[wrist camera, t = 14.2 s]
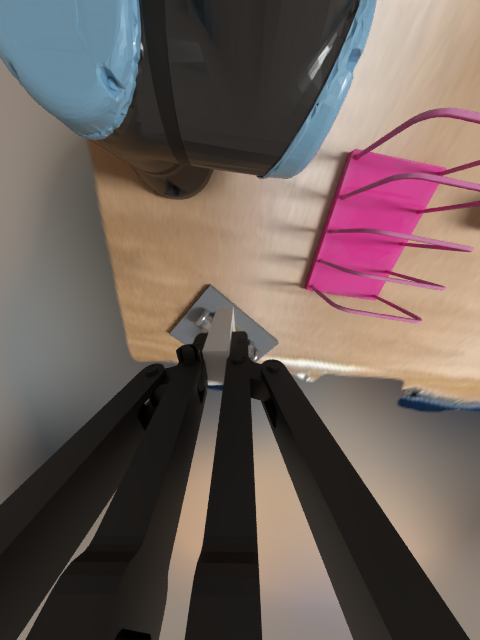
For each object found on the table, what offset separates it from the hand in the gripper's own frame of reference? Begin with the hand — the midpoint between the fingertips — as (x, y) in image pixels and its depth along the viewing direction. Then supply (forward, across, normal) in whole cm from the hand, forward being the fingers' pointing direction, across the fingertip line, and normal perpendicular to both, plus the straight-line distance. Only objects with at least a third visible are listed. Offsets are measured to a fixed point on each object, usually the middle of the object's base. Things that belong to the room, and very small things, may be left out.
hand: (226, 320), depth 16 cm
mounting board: (+26, -4, -18) cm, 32 cm away
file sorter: (+27, +27, +5) cm, 39 cm away
